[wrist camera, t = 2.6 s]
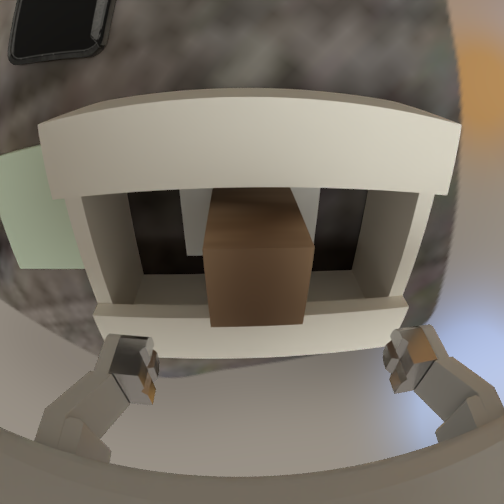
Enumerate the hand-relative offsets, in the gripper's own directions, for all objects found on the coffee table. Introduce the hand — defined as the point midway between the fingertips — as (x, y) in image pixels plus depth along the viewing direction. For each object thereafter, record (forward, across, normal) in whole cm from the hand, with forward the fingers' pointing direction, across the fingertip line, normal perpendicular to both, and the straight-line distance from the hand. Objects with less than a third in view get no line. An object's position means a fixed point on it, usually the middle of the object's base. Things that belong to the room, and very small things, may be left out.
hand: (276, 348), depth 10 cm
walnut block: (+10, +1, 0) cm, 10 cm away
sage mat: (+12, +16, 0) cm, 19 cm away
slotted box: (+12, +1, 0) cm, 12 cm away
